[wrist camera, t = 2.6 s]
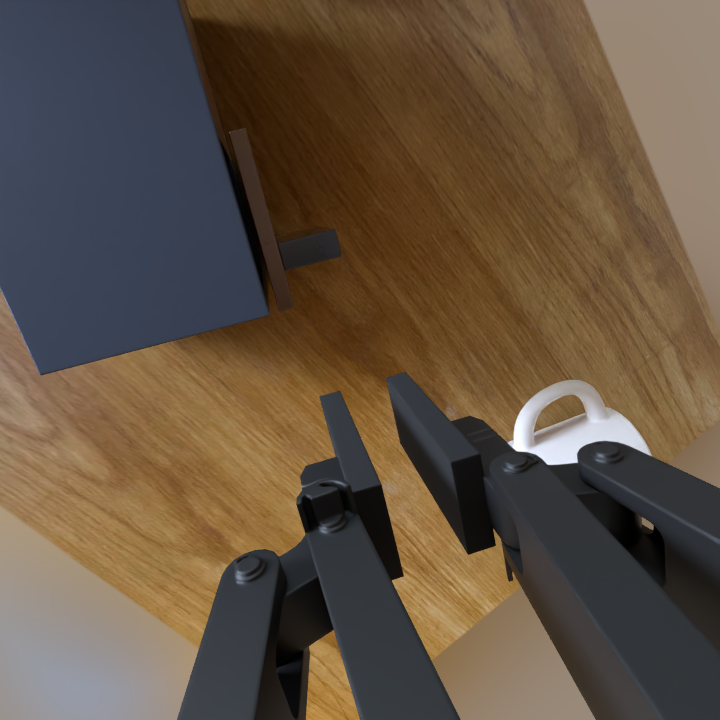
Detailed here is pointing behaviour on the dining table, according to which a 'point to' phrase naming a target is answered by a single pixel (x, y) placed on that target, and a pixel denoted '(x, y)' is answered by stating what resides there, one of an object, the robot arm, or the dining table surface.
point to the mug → (572, 425)
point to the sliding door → (282, 248)
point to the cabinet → (116, 183)
